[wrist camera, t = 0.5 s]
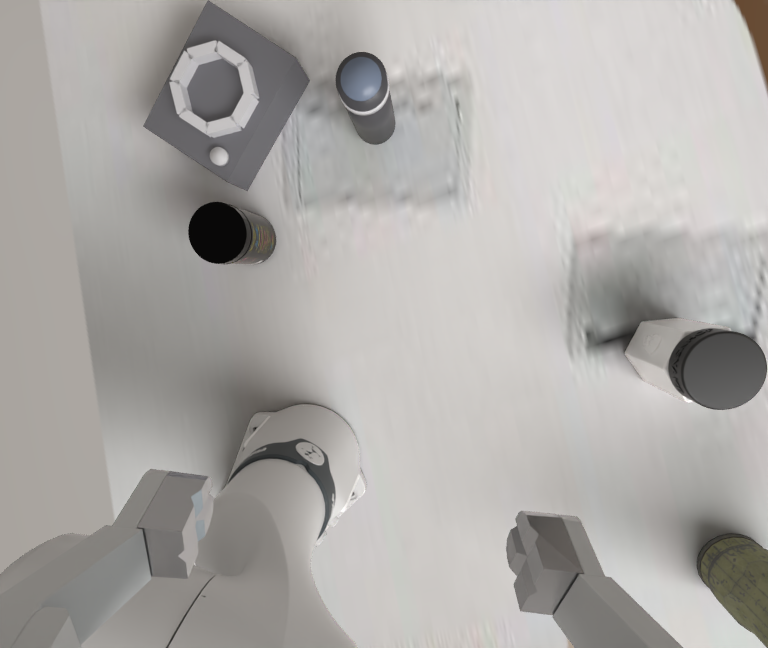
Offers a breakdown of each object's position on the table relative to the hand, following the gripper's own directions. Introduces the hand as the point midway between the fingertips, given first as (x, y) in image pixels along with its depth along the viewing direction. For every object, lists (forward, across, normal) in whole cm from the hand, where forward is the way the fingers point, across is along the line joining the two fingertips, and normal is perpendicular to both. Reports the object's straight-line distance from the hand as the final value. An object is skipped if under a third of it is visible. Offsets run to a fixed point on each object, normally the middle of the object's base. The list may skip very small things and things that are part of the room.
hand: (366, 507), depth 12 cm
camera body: (+55, -20, +3) cm, 58 cm away
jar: (+40, +38, -15) cm, 57 cm away
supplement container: (+49, -16, -12) cm, 53 cm away
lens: (+53, -2, +5) cm, 53 cm away
